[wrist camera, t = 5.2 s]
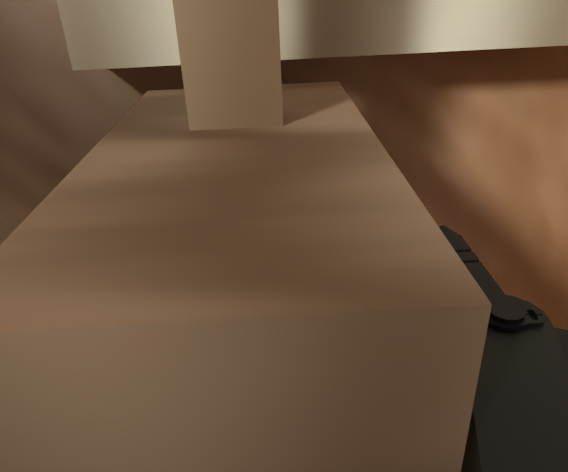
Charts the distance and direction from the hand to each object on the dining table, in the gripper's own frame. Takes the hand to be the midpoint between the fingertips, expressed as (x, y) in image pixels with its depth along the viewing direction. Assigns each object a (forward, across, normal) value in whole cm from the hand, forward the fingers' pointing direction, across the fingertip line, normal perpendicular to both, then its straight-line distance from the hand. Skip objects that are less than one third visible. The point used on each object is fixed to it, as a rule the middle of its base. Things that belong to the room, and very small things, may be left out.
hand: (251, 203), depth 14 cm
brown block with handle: (+1, 0, +3) cm, 4 cm away
